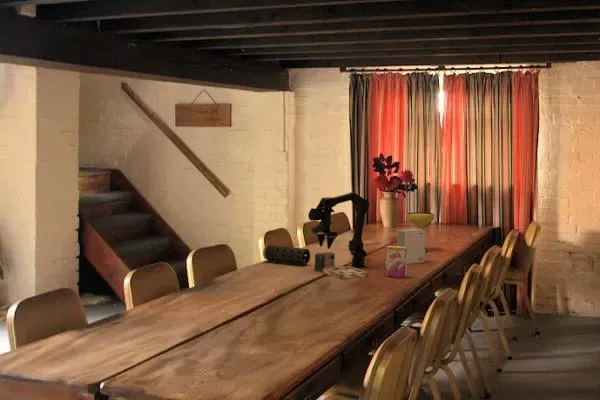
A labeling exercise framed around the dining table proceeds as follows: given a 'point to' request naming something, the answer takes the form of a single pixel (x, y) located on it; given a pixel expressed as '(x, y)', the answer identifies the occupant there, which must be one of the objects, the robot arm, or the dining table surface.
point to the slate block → (349, 271)
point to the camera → (324, 260)
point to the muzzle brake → (286, 255)
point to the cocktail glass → (420, 219)
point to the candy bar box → (396, 261)
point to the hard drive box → (412, 244)
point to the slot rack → (337, 273)
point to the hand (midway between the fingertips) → (324, 247)
